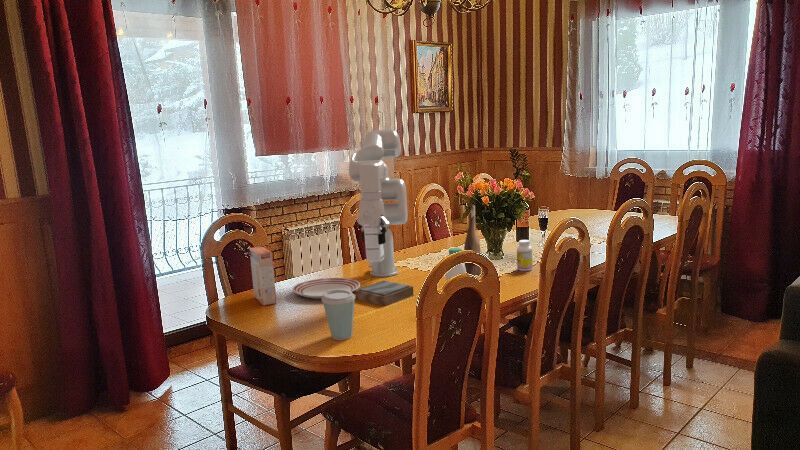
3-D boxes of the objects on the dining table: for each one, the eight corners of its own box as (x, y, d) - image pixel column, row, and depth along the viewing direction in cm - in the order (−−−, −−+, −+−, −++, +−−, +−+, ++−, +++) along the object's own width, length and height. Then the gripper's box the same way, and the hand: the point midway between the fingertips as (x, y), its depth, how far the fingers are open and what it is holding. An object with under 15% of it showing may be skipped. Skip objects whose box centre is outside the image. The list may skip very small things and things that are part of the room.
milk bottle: (446, 304, 219) (443, 251, 215) (447, 298, 226) (445, 246, 223) (467, 304, 217) (465, 251, 214) (467, 297, 225) (465, 246, 221)
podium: (355, 299, 232) (355, 289, 231) (384, 289, 243) (383, 279, 242) (385, 306, 221) (384, 295, 220) (413, 295, 232) (413, 285, 232)
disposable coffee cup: (363, 332, 194) (360, 288, 192) (348, 344, 185) (344, 298, 182) (335, 329, 199) (332, 286, 196) (318, 341, 189) (314, 296, 186)
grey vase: (456, 283, 246) (453, 207, 239) (463, 275, 257) (460, 202, 250) (483, 285, 242) (480, 208, 235) (488, 276, 253) (486, 202, 246)
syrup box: (381, 262, 222) (378, 224, 219) (366, 262, 223) (363, 224, 220) (384, 258, 227) (382, 220, 224) (369, 257, 228) (367, 221, 225)
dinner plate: (338, 280, 262) (338, 272, 261) (373, 292, 240) (373, 284, 239) (281, 293, 246) (281, 285, 245) (313, 308, 224) (312, 299, 224)
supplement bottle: (516, 267, 264) (515, 239, 262) (531, 267, 264) (530, 238, 262) (518, 271, 258) (517, 242, 255) (533, 271, 257) (533, 242, 255)
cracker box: (277, 303, 232) (272, 251, 228) (262, 306, 229) (257, 253, 225) (268, 295, 244) (263, 245, 240) (253, 297, 241) (248, 247, 238)
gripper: (347, 196, 223) (351, 241, 227) (380, 199, 212) (383, 247, 215) (362, 193, 229) (365, 238, 232) (395, 196, 217) (398, 243, 221)
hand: (374, 242), depth 224 cm, fingers closed on syrup box, 7 cm apart
